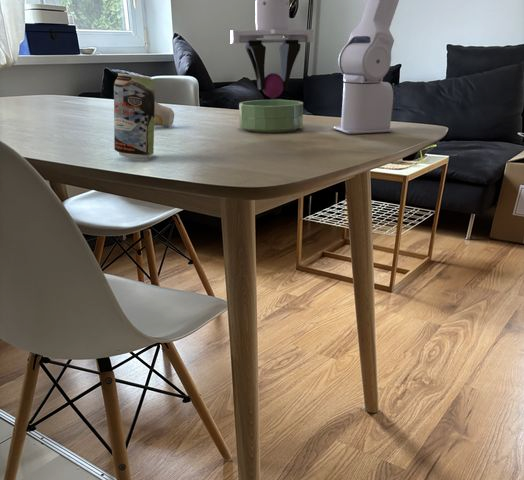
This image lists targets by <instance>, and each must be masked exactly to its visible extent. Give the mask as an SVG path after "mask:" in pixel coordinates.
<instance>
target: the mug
mask: <svg viewBox="0 0 524 480" xmlns="http://www.w3.org/2000/svg"><path fill="white" fill-rule="evenodd" d="M174 119H175V112H174V110H173V108H171V107H169V106H166V105H165V106H164V105H162V104H160V103H158V102H157V101H155V111H154V127H164V128H169V127H171V126H173V124H174Z"/></svg>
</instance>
